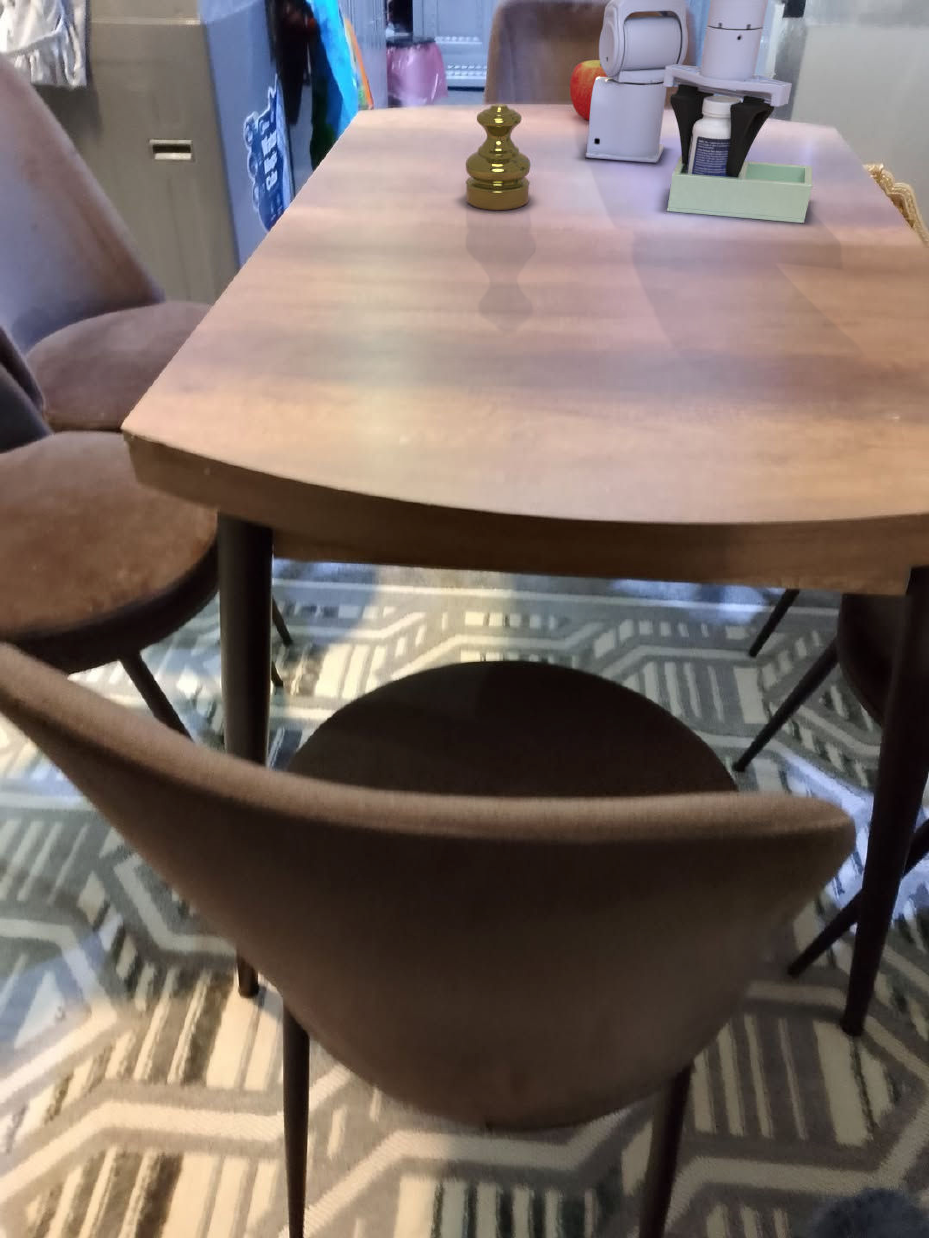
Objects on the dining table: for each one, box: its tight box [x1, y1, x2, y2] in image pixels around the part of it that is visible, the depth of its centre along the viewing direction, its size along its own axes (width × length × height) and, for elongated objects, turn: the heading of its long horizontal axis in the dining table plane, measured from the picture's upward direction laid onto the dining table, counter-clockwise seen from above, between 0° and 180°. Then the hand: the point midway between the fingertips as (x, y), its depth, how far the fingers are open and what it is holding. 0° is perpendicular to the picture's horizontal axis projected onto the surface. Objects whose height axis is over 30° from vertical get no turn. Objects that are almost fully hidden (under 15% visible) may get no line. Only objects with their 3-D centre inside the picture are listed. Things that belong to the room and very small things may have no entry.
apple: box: [569, 59, 608, 121], centre depth 133 cm, size 8×8×10 cm
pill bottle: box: [686, 95, 742, 177], centre depth 102 cm, size 5×5×10 cm
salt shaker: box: [465, 103, 531, 211], centre depth 103 cm, size 7×7×10 cm
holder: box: [666, 155, 813, 224], centre depth 104 cm, size 8×15×4 cm, turn 74°
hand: (711, 167), depth 103 cm, fingers closed on pill bottle, 5 cm apart
